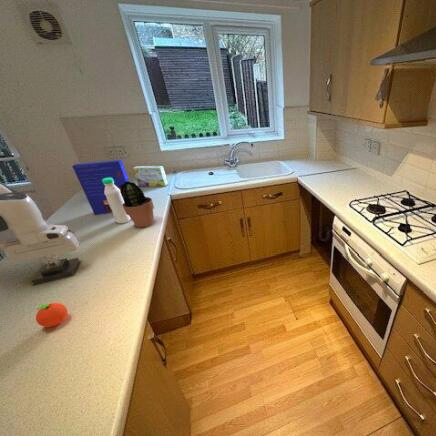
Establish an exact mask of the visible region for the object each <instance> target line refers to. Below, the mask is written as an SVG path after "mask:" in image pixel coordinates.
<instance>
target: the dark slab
mask: <svg viewBox="0 0 436 436" xmlns="http://www.w3.org/2000/svg"><path fill="white" fill-rule="evenodd" d="M58 261H61V263H60V265H59V266H58V267H54V268H49V269H46V268H47V266H48V265H47V264H46V263H45V264H43V265H41V266H40V268H39V269H38V271H37V272H36V273H35V274H34V276H33V277H32V279H31V280H30V282H31V283H32V284H33V286H37V285H39V284H44V283H48V282H52V281H57V280H60V279H65V278H69V277H72V276H74V274H75V272H76V270H77V269H78V267H79V265H80V263H81V261H80V258H79V257H74V258H70V259H69V258H67V257H65V258H61V259H58Z"/></svg>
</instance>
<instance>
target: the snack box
mask: <svg viewBox="0 0 436 436" xmlns="http://www.w3.org/2000/svg"><path fill="white" fill-rule="evenodd" d="M132 171H133V174H134V177H135V180H136V182H137V186H138V187H166V186H168V185H169V182H168V178H167V175H166V171H165V168H164V166H163V165H135V166H134V167H132Z"/></svg>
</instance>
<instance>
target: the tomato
mask: <svg viewBox="0 0 436 436" xmlns="http://www.w3.org/2000/svg"><path fill="white" fill-rule="evenodd" d="M67 315H68V308H67V307H66V305H65V304H63V303H61V302H51V303H47V304H42V305H40V306H39V307H38V308H37V313H36V314H35V321H36V323H37V324H38V326H41V327H44V328H50V327H55V326H57V325H59V324H61V323H62V322H63V321H64V320H65V319H66V317H67Z"/></svg>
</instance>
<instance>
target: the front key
mask: <svg viewBox="0 0 436 436" xmlns="http://www.w3.org/2000/svg"><path fill="white" fill-rule="evenodd" d="M60 263H61V261H59V263H58V264H55V265H51V266H47V268H46V269H49V268H54V267H58V266H59V265H60Z"/></svg>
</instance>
